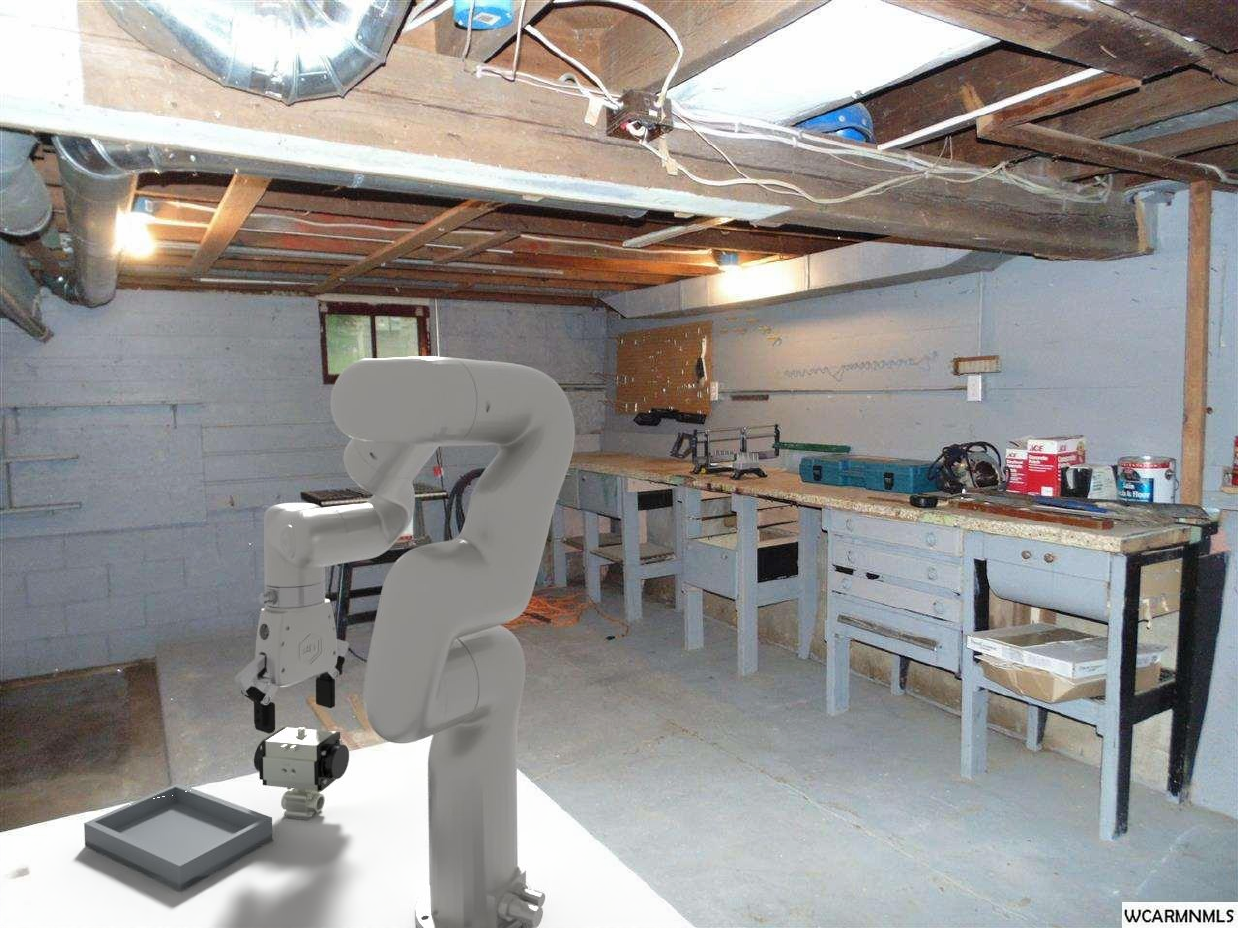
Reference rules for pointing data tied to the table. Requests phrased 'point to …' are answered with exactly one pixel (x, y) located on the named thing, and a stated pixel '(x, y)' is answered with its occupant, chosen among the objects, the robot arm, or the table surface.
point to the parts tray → (178, 835)
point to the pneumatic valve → (301, 767)
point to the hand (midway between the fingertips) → (296, 717)
